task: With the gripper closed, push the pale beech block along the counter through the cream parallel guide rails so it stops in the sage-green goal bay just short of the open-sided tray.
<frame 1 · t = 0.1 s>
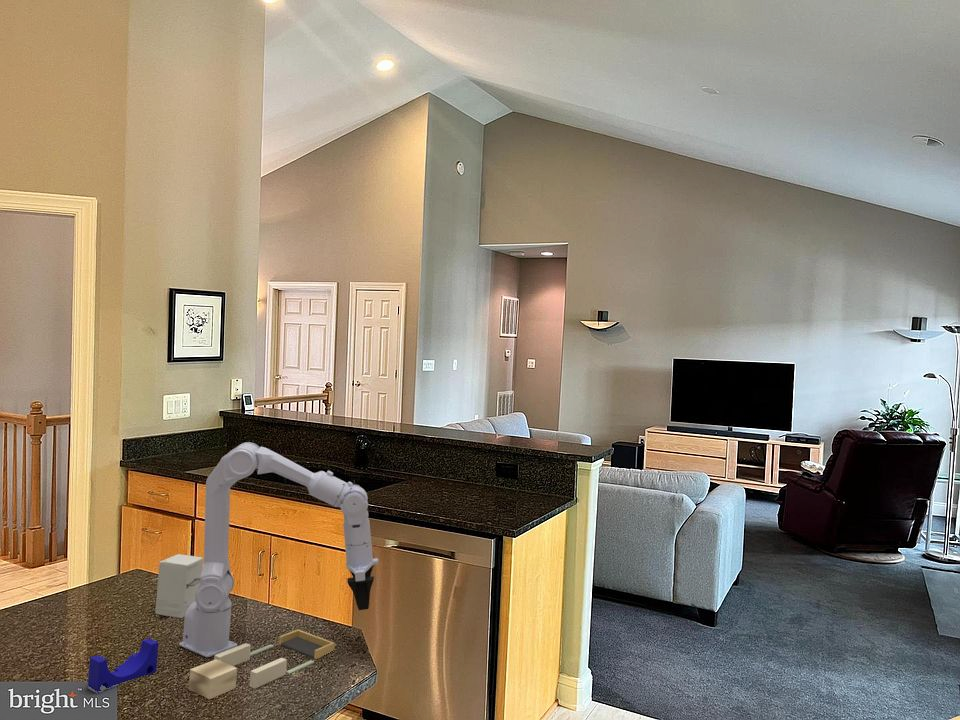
hand: (363, 602, 160), 11 cm above the countertop, tool pointing down, fingers open, 7 cm apart
blue arch block: (120, 680, 138), on the countertop
beech block: (212, 689, 137), on the countertop
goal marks: (279, 659, 152), on the countertop
cream parallel guide rails: (249, 672, 145), on the countertop
supplement box: (177, 612, 173), on the countertop
open-sided tray: (305, 648, 158), on the countertop
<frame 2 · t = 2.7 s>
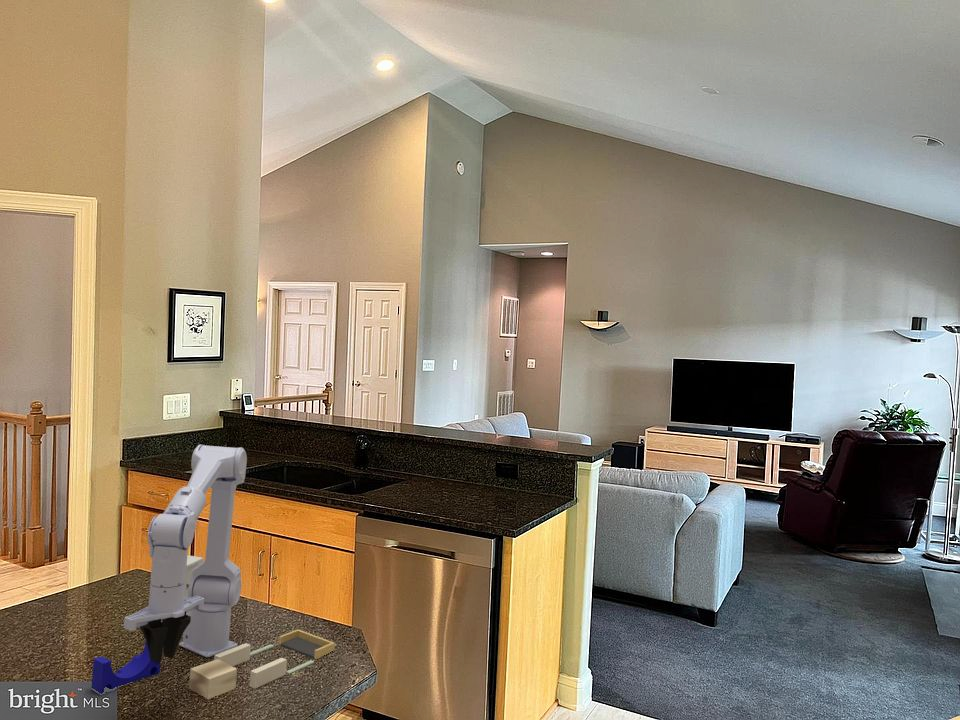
hand: (162, 658, 127), 9 cm above the countertop, tool pointing down, fingers closed
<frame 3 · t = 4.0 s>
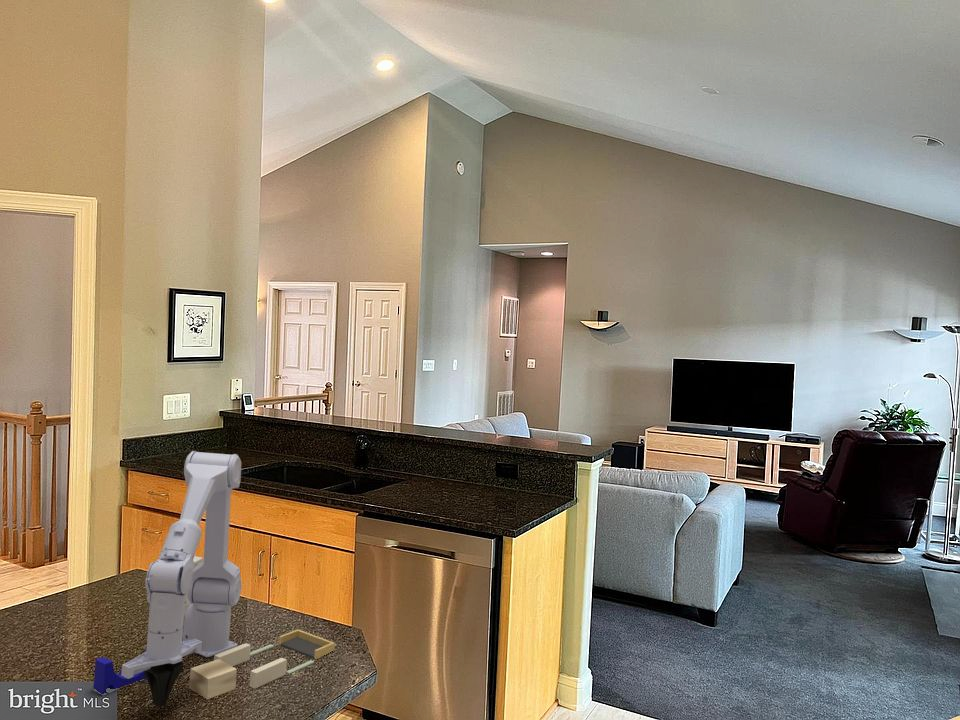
hand: (159, 703, 128), 1 cm above the countertop, tool pointing down, fingers closed
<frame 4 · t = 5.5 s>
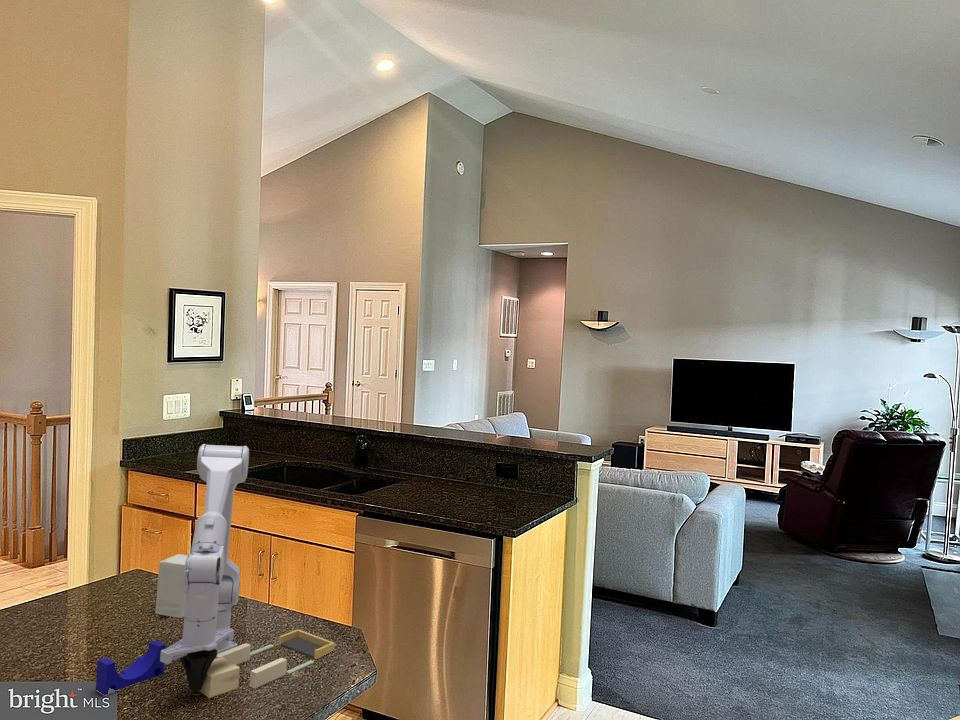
hand: (195, 689, 134), 1 cm above the countertop, tool pointing down, fingers closed
beech block: (215, 687, 138), on the countertop, touching gripper
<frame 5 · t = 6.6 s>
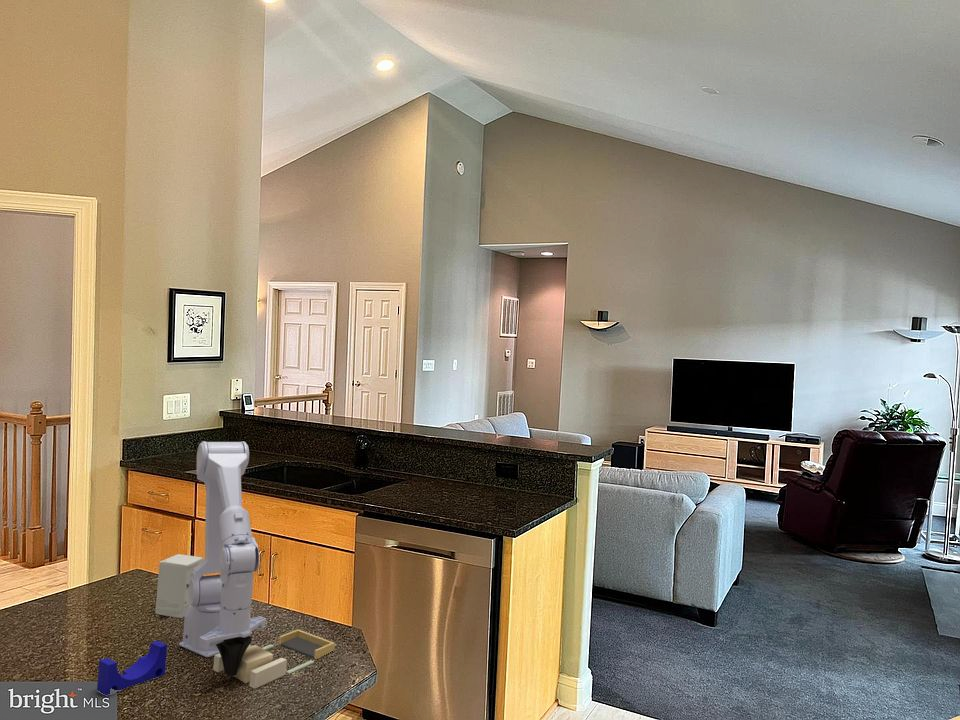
hand: (230, 674, 141), 1 cm above the countertop, tool pointing down, fingers closed
beech block: (249, 673, 145), on the countertop, touching gripper
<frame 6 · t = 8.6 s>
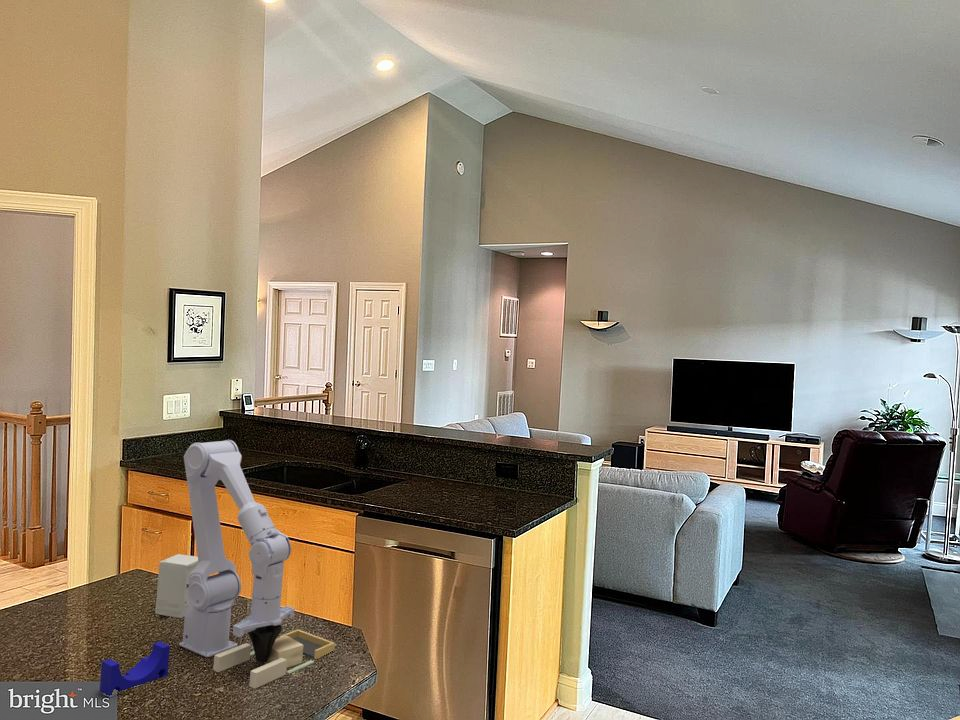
hand: (261, 661, 148), 1 cm above the countertop, tool pointing down, fingers closed
beech block: (281, 662, 151), on the countertop
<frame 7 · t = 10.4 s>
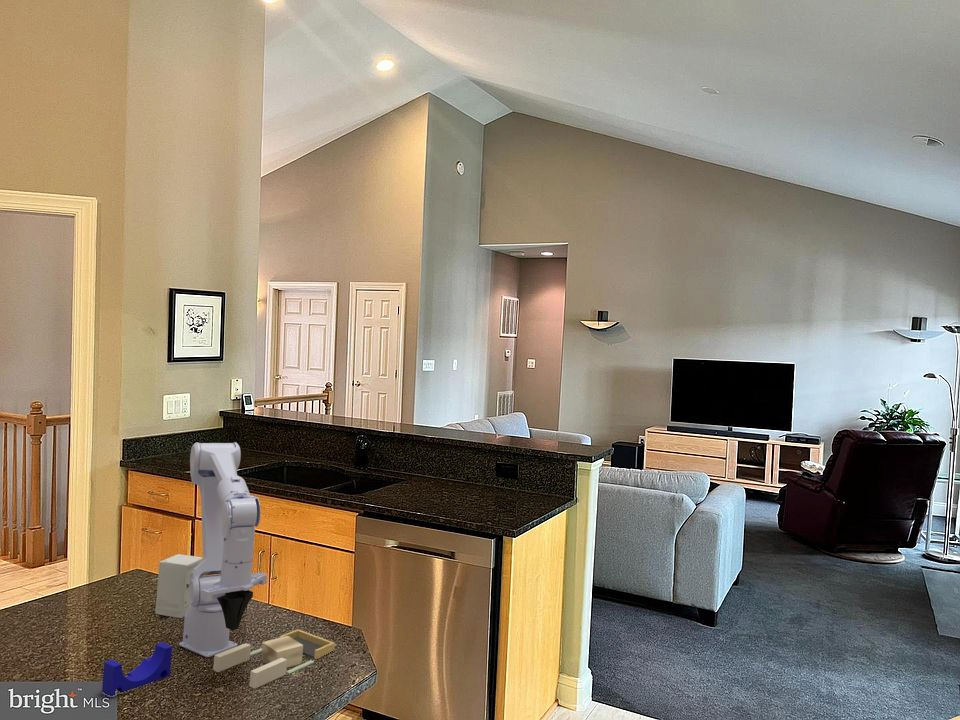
hand: (232, 628, 142), 10 cm above the countertop, tool pointing down, fingers closed
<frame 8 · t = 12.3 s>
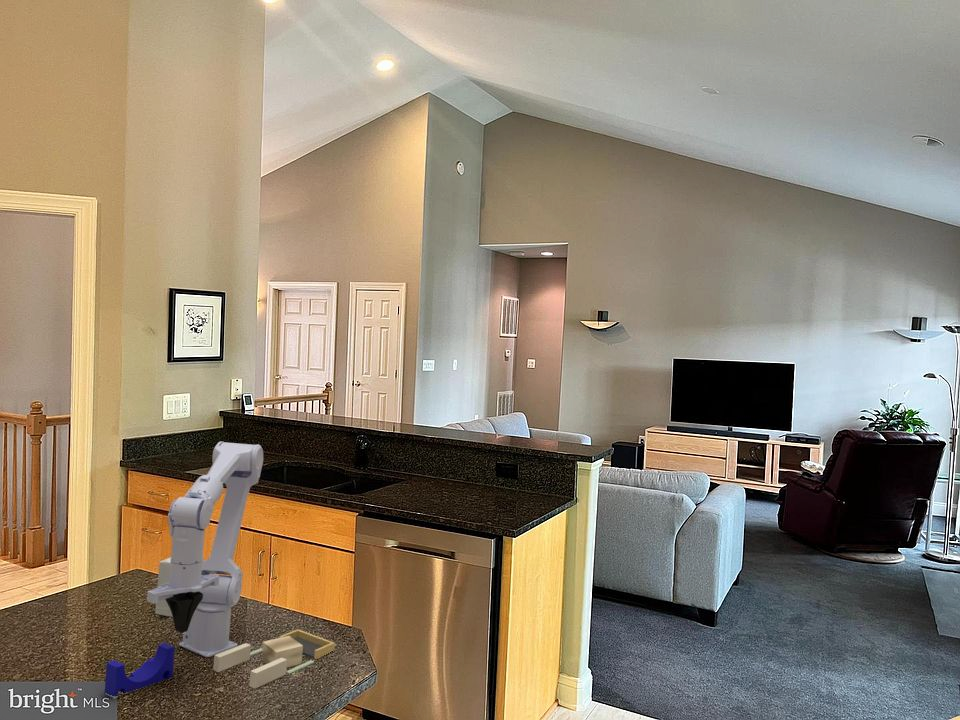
hand: (181, 630, 139), 10 cm above the countertop, tool pointing down, fingers closed
at the end: beech block inside the target area (1.3 cm from its centre), on the countertop; beech block tilted 0°; beech block touching countertop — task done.
